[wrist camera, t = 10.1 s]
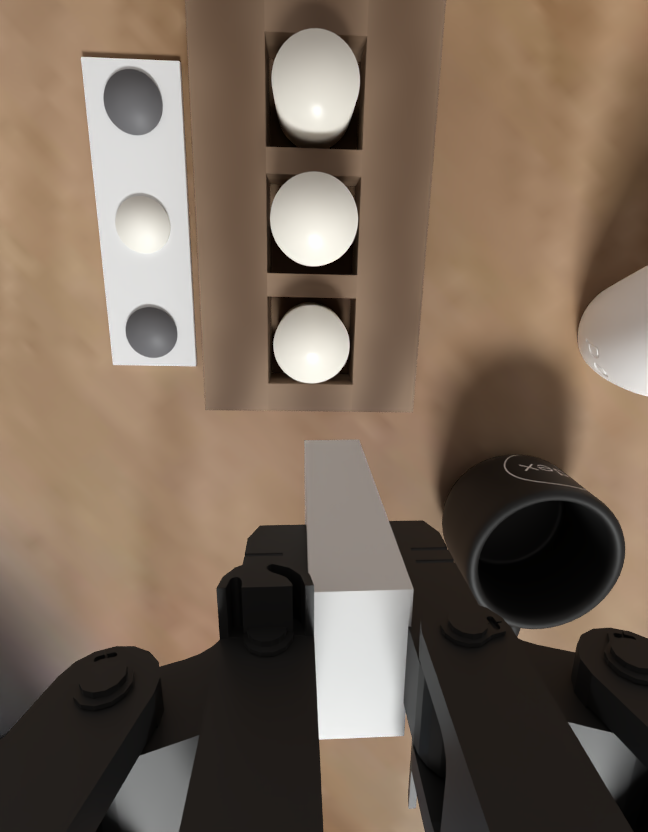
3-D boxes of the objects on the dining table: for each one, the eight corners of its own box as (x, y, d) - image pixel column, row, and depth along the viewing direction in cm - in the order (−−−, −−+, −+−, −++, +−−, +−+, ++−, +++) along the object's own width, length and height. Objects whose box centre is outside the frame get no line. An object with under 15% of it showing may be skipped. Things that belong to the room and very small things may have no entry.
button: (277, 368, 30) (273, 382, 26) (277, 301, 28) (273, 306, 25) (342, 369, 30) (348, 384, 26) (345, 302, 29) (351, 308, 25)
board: (214, 396, 30) (205, 410, 28) (198, 18, 25) (184, -15, 22) (402, 399, 31) (412, 412, 28) (430, 29, 25) (446, -2, 22)
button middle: (275, 265, 26) (270, 265, 22) (274, 185, 25) (269, 170, 21) (348, 267, 26) (356, 267, 23) (351, 187, 25) (359, 173, 21)
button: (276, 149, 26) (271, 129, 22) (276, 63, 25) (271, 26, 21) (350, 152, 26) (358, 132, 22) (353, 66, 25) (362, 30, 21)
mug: (453, 433, 32) (494, 477, 25) (580, 456, 33) (653, 505, 26) (409, 586, 35) (435, 662, 28) (525, 603, 36) (577, 681, 29)
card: (114, 363, 30) (111, 365, 29) (83, 59, 25) (79, 55, 25) (197, 365, 30) (195, 366, 29) (180, 63, 25) (178, 59, 25)
